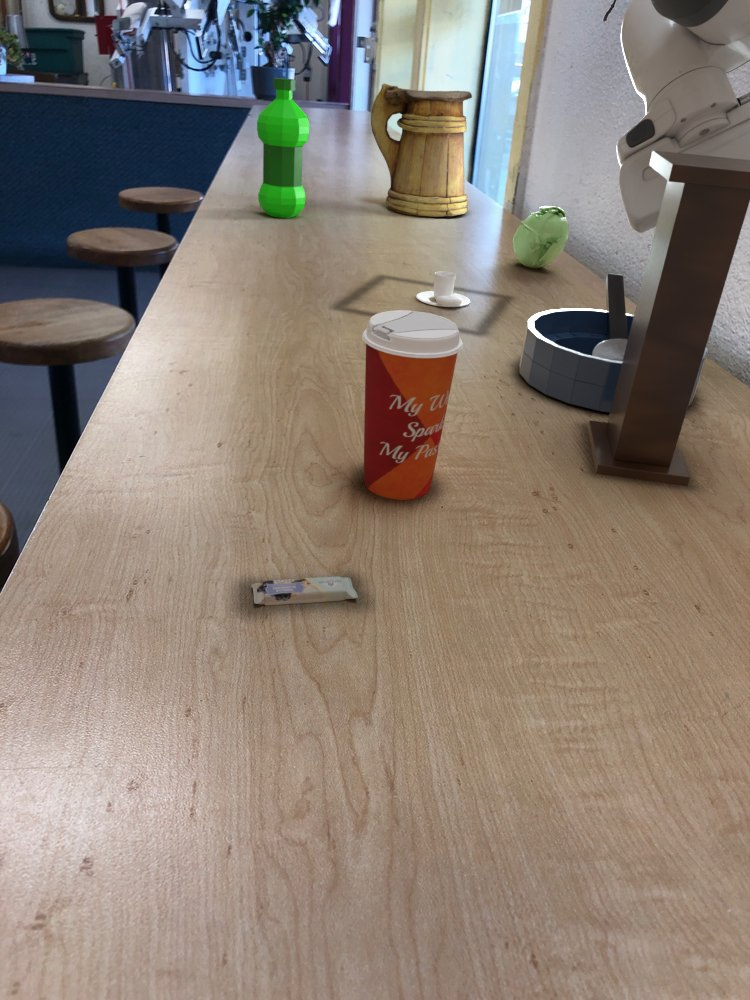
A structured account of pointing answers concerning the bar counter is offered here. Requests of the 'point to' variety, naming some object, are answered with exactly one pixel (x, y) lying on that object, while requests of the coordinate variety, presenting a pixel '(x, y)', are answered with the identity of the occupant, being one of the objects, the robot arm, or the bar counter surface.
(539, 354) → the bowl
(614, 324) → the grey block
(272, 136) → the plastic bottle
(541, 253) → the green cabbage
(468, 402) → the bar counter surface
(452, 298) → the teacup and saucer
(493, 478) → the bar counter surface
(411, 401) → the paper cup
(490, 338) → the bar counter surface
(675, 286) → the wooden post stand
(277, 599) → the granola bar
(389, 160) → the tankard
